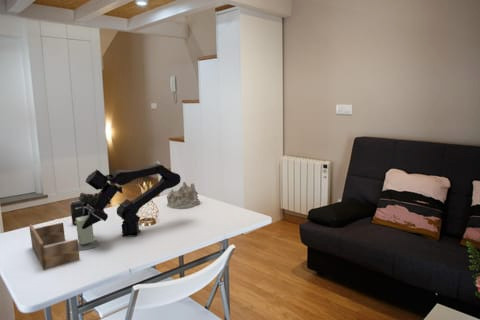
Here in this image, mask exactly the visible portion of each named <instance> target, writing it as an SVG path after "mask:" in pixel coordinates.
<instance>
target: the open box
mask: <svg viewBox="0 0 480 320" xmlns="http://www.w3.org/2000/svg"><path fill="white" fill-rule="evenodd" d="M28 228H29V232H30V233H29V234H30V241H31V248H32V250H33V252H34V254H35V255H36V257H37V260H38V262H39V264H40V265H41V268H42V270H47V269H51V268H55V267H58V266H61V265H62V266H63V265H65V264H69V263H73V262H76V261H79V260H80V259H81V257H80V250H79V248H78V242H79V241H78V238H77V239H73V240H68V241H66V235H65V228H64V222H58V223H54V224H53V223H52V224H49V225H44V226H41V227H35V226H34V225H33V224H29V227H28Z"/></svg>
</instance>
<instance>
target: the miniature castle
mask: <svg viewBox="0 0 480 320" xmlns="http://www.w3.org/2000/svg"><path fill="white" fill-rule="evenodd" d="M195 187H196V186H195V183H194V182H191V183H190V186H188V184H187V183H186V181H183V183H182V185H181V186H180V187H179V189H178V190H175V191H174V189H171V190H170V191H168V194H167V195H166V199H167V205H166V206H167V207H168V208H170V209H174V210H175V209H177V210H189V209H192V208H194V207H197V206H199V205H200V204H201V201H200V199H199V198H198V197H199V196H198V192H197V191H196V188H195Z"/></svg>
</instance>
